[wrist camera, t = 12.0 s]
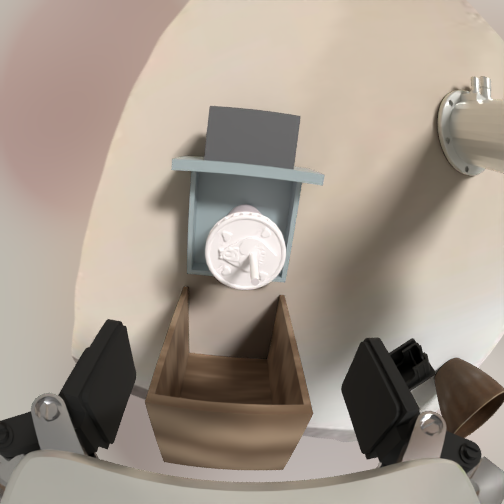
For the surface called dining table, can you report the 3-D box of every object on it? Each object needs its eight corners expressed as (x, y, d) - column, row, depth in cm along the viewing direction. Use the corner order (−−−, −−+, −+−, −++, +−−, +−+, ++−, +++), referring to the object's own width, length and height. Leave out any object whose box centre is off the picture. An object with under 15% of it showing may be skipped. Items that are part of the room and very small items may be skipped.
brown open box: (183, 286, 35) (145, 401, 18) (284, 295, 36) (313, 413, 19) (185, 355, 39) (164, 461, 22) (270, 362, 40) (283, 469, 23)
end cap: (377, 383, 45) (389, 409, 38) (367, 365, 42) (380, 393, 36) (421, 356, 43) (436, 380, 37) (415, 335, 40) (433, 359, 34)
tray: (190, 111, 27) (177, 104, 21) (315, 125, 28) (331, 121, 22) (180, 261, 33) (169, 285, 28) (292, 271, 34) (301, 296, 29)
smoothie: (271, 249, 32) (290, 323, 19) (215, 247, 31) (197, 321, 19) (275, 193, 29) (302, 235, 16) (215, 190, 29) (193, 231, 16)
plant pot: (476, 332, 42) (516, 378, 27) (466, 372, 47) (496, 415, 33) (422, 364, 44) (458, 422, 29) (418, 401, 49) (444, 451, 34)
